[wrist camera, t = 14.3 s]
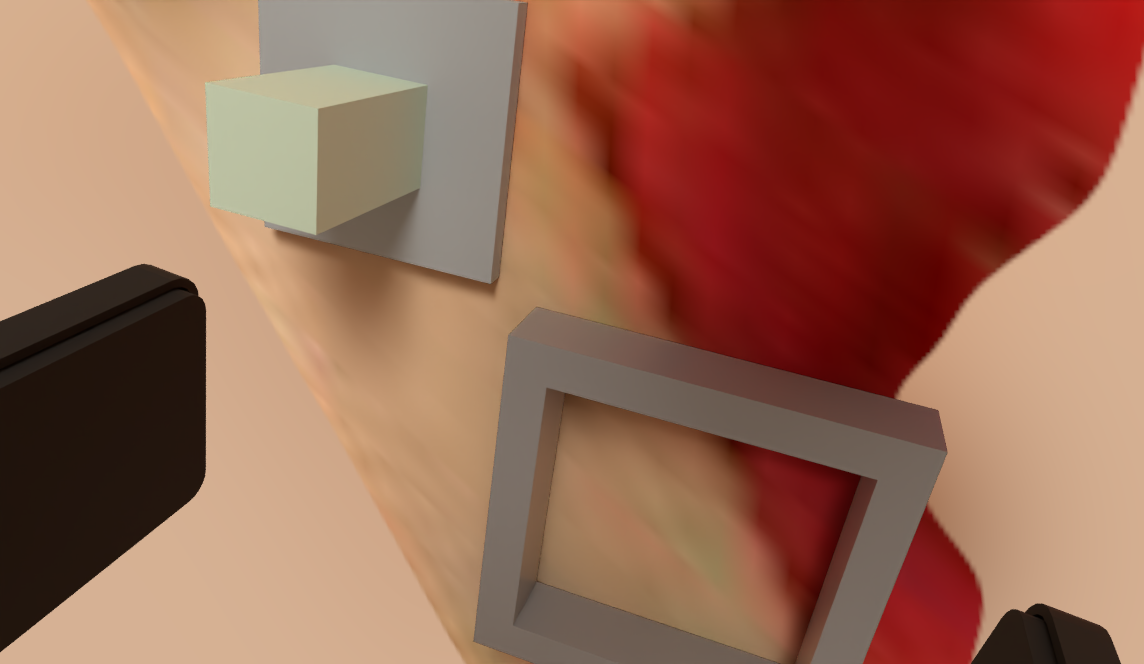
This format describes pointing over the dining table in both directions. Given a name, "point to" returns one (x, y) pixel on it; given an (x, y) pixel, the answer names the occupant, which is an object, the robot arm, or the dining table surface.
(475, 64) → the mat
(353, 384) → the dining table surface
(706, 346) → the dining table surface
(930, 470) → the grey square frame
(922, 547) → the dining table surface
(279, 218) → the green box
